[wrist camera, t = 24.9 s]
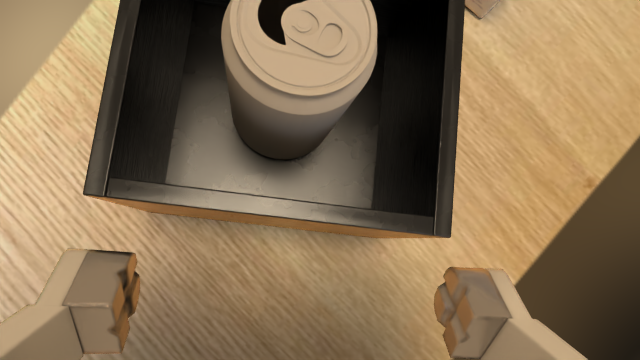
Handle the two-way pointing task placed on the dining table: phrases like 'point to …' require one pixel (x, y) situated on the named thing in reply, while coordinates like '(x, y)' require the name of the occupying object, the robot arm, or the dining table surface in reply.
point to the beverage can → (295, 68)
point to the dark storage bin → (269, 173)
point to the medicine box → (481, 6)
